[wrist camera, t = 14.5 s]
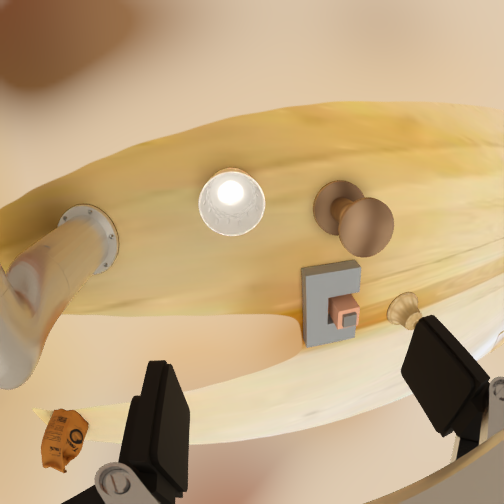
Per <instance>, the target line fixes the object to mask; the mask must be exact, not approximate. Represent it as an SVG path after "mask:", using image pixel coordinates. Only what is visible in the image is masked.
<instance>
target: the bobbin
mask: <svg viewBox="0 0 504 504" xmlns="http://www.w3.org/2000/svg"><path fill="white" fill-rule="evenodd" d="M313 212H314V217H315V220H316V222H317V223H318V225H319V226H320V227H321V228H322V229H323V230H324V231H326V232H327V233H329V234H332V235H339V238H340V241H341V243H342V245H343V246H344V247H345V248H346V249H347V250H348V251H349V252H350V253H351V254H353V255H354V256H357V257H370V256H373V255H375V254H377V253H379V252H380V251H381V250H383V249H384V248H385V247H386V245H387V244H388V242H389V241H390V239H391V237H392V234H393V230H394V219H393V215H392V212H391V210H390V209H389V208H388V206H387V205H386V204H384V203H383V202H381V201H379V200H377V199H374V198H364V195H363V193H362V192H361V190H360V189H359V188H358V187H357V186H355V185H354V184H351V183H349V182H346V181H334V182H331V183H329V184H327V185H325V186H324V187H323V188H322V189H321V190H320V191H319V193H318V194H317V196H316V198H315V201H314V206H313Z"/></svg>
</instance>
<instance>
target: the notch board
mask: <svg viewBox="0 0 504 504" xmlns="http://www.w3.org/2000/svg"><path fill="white" fill-rule="evenodd" d="M301 270H302V297H303V338H304V341H305V344H306V347H307V348H308V347H313V346H318V345H323V344H328V343H333V342H337V341H342V340H346V339H351V338H354V337H355V329H356V326H351V327H347V328H343V329H338V330H337V328H336V326H335V324H334V322H333V320H332V318H331V316H330V314H328V298H330V297H335V296H341V295H346V294H351V293H356V292H359V291H360V278H361V266H360V265H359V264H358V263H357V262H356V261H355V260H350V261H344V262H338V263H332V264H326V265H319V266H313V267H306V268H301Z"/></svg>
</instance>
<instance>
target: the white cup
mask: <svg viewBox="0 0 504 504" xmlns="http://www.w3.org/2000/svg"><path fill="white" fill-rule="evenodd" d="M198 206H199V212H200V215H201V218H202V219H203V221H204V223H205V224H206V225H207V226H208V227H209V228H210V229H211V230H213V231H215V232H216V233H219V234H221V235H225V236H238V235H242V234H245V233H247V232H249V231H250V230H252V229H253V228H254V227H255V226H256V225H257V224H258V223H259V222H260V220H261V218H262V216H263V214H264V210H265V197H264V193H263V191H262V189H261V187H260V185H259V184H258V183H257V182H256V181H255V180H254V179H253V178H252V177H251V176H250V175H249V174H248V173H246V172H245V171H243V170H240V169H238V168H230V167H229V168H226V169H223V170H220V171H218V172H217V173H215V174H214V175H213V176H212V177H211V178H210V179H209V180H208V182H207V183H206V184H205V185H204V187H203V189H202V191H201V193H200V196H199V202H198Z"/></svg>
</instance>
